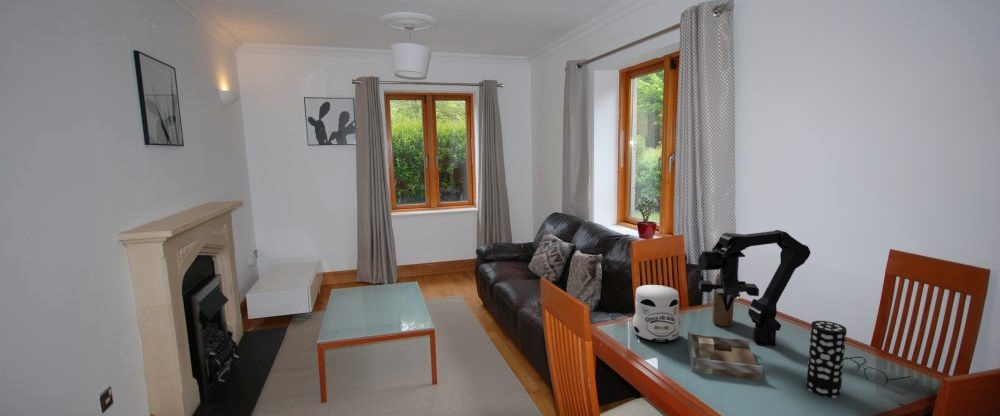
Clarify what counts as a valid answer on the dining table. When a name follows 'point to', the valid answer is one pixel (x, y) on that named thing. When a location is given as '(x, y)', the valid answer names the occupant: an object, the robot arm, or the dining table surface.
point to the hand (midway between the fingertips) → (726, 310)
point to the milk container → (656, 313)
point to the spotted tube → (826, 358)
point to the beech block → (705, 347)
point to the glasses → (873, 368)
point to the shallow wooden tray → (724, 358)
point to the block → (721, 309)
